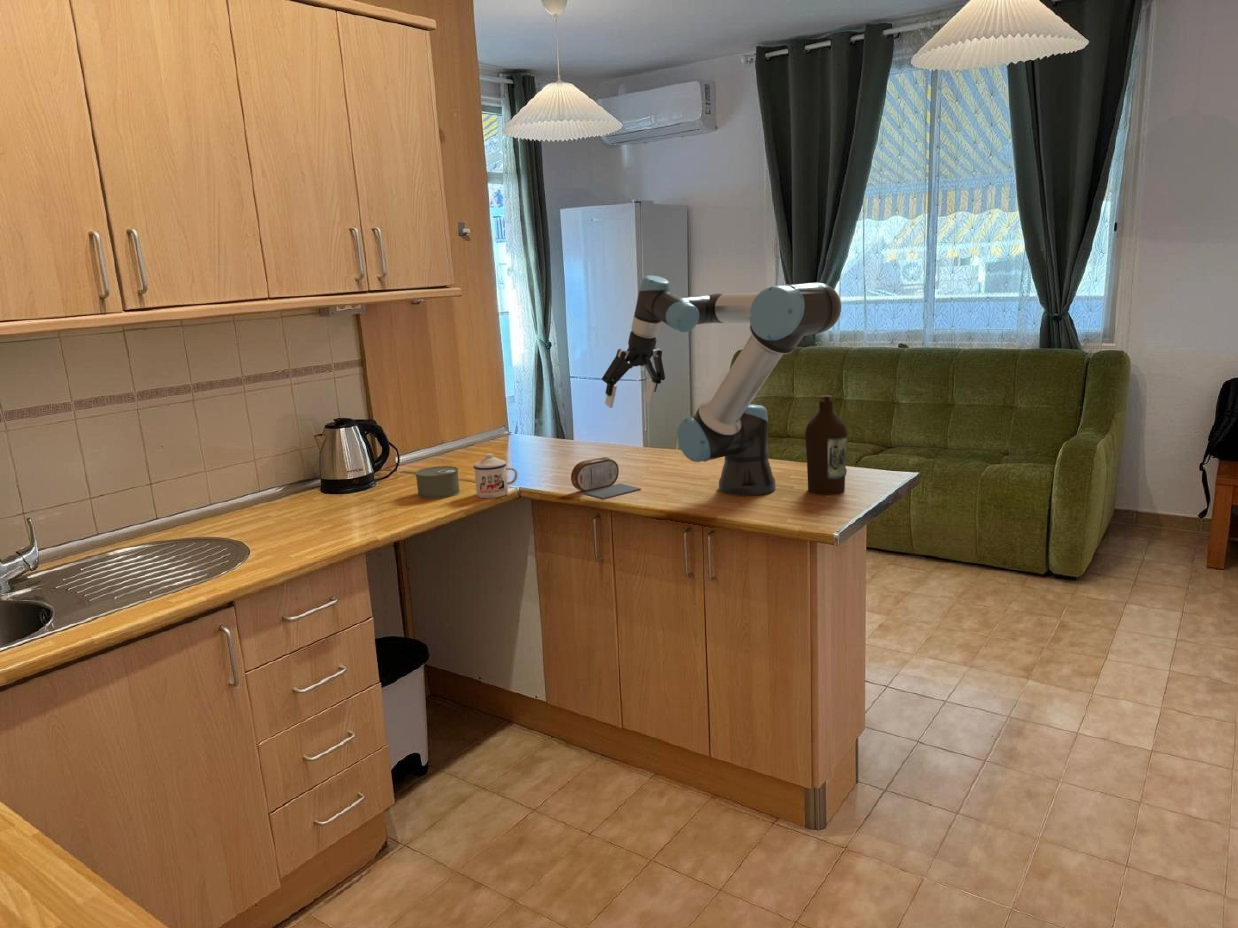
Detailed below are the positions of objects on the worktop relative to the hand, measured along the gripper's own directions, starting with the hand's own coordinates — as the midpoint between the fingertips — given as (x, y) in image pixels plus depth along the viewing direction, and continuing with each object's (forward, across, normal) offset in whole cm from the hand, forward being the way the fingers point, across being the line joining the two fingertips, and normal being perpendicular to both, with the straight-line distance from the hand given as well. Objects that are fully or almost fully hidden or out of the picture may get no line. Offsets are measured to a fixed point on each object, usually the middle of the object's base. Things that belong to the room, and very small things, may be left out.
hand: (628, 404), depth 246 cm
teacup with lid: (+29, +33, -7) cm, 45 cm away
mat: (+20, +10, +13) cm, 26 cm away
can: (+34, +45, -19) cm, 60 cm away
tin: (+22, +11, +7) cm, 26 cm away
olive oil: (+3, -30, +51) cm, 60 cm away
